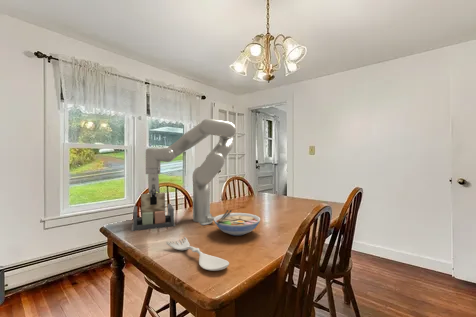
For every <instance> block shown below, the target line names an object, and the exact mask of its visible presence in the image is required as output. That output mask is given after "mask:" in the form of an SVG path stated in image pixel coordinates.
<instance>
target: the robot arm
mask: <svg viewBox="0 0 476 317" xmlns="http://www.w3.org/2000/svg"><path fill="white" fill-rule="evenodd" d="M236 128H237V127H236V125H235V124H234V123H233V122H231V121H226V120H225V121H224V120H220V119H214V118H204V119H203V120H202V121H201V122H199V123H198V124H197V125H195V126H194V127H193V128H191V129H190V130H188V131H186V132H185V133H183V135H182V136H181V137H180V138H179V139H177V140H176V141H174V143H172V144H171V145H169V146H168V147H165V148H164V147H163V148H157V147H156V148H155V147H151V148H150V147H149V148H146V149H145V175H147V185H148V192H149V193H151V197H150V205H156V204H157V197H156V193H160V181H159V180H160V178H159V177H160V176H159V175H161V162H165V163H169V162H172V161H173V160H175V159H176V158H177V157H179V156H180V155H182V154H183V153H184V152H186V151H188V150H190V149H192V148H193V147H195V146H196V145H198V144H199V143H200V142H202V141H203V140H205V139H206V138H207V137H209V136H210V135H211V136H216V137H219V140H218V142H217V144H215V146H214V147H213V149H212V150H211V151H210V152H209V153H208V154H207V155H206V157H205V160H204V161H203V162H202V163H201V165H200V166H198V167H196V168H194V170H193V171H192V222H195V223H199V225H200V226H206V225H210V224H212V223H213V222H214V217H215V216H213V215H212V213H211V188H210V186H211V185H210V184H211V182H212V181H213V179H214V178H215V177H216V175H218V173H219V172H221V170H222V169H223V167H224V164H225V159H226V158H227V156H228V154H230V152H231V150H232V149H233V147H234V136H235V135H236V132H237V129H236Z"/></svg>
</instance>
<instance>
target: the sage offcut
mask: <svg viewBox="0 0 476 317" xmlns="http://www.w3.org/2000/svg"><path fill="white" fill-rule="evenodd" d="M148 224H153V212H144V213H142V225H148Z"/></svg>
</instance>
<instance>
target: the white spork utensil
mask: <svg viewBox="0 0 476 317" xmlns="http://www.w3.org/2000/svg"><path fill="white" fill-rule="evenodd" d="M166 245H167V246H168V247H170V248H172V249H175V250H177V251H186V250H190V251H192V253H197V254H198V256H199V258H198V265H199V266H200V267H201V268H202V269H204V270H206V271H211V272H212V271H214V272H215V271H222V270H224V269H226V268H227V267H229V265H230V262H229V261H228V260H226V259H224V258H221V257H218V256H215V255H214V256H213V255H210V254H206V253H205V252H202V251H201V250H200V248H199V247H194V246H191V244H190V242H189V240H188V238H187V237H186V236H184V237H183V238H181V239H179V240H178V241H177V240H176V241H175V242H174V241H172V242H171V241H169V242H168V241H166Z"/></svg>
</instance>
